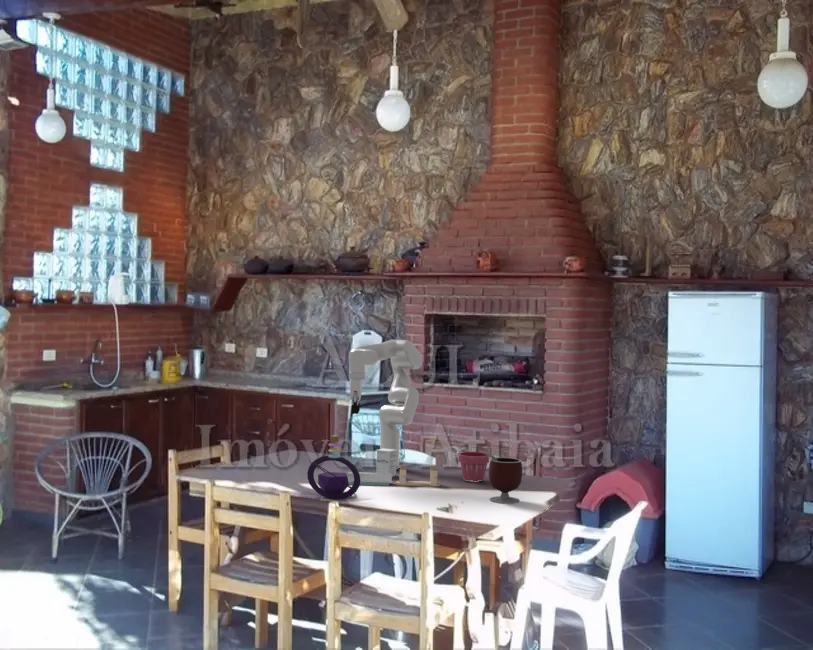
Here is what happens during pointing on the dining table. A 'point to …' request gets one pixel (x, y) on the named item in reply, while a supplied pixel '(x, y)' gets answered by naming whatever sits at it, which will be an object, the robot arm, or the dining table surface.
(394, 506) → the dining table surface
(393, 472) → the supplement box
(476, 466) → the plant pot
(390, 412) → the robot arm
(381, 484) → the mat
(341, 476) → the decorative bottle
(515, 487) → the mate gourd
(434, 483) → the rack
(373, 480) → the block
